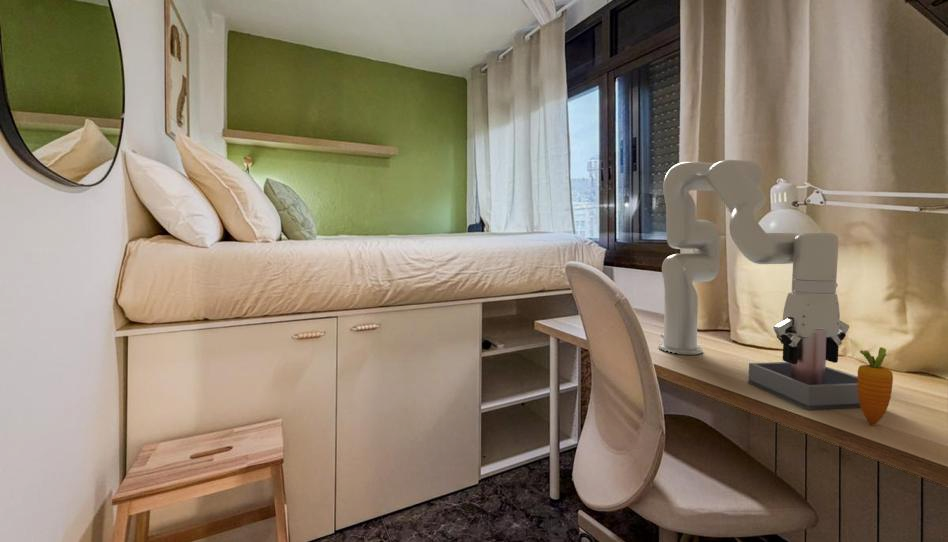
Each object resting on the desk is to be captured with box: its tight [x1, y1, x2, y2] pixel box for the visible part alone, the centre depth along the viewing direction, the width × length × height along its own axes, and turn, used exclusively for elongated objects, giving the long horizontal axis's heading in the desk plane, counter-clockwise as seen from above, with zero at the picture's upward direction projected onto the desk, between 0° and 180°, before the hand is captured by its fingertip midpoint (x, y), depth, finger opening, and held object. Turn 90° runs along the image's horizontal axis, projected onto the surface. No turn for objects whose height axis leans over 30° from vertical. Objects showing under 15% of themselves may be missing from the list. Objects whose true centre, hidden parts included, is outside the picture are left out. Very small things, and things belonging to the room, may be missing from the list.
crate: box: [747, 361, 861, 411], centre depth 88 cm, size 16×16×5 cm
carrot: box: [857, 346, 894, 426], centre depth 73 cm, size 5×5×15 cm
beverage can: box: [791, 327, 827, 385], centre depth 88 cm, size 6×6×15 cm
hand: (809, 361), depth 88 cm, fingers open, 9 cm apart
